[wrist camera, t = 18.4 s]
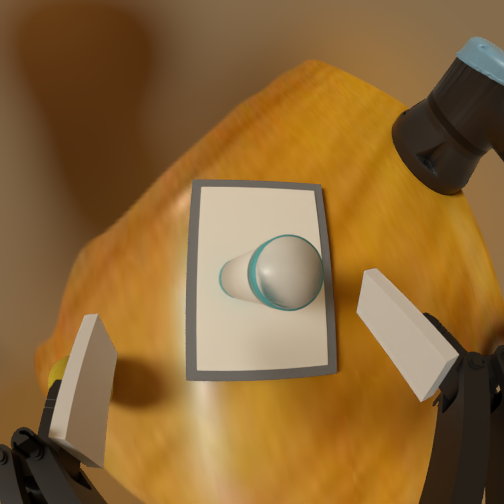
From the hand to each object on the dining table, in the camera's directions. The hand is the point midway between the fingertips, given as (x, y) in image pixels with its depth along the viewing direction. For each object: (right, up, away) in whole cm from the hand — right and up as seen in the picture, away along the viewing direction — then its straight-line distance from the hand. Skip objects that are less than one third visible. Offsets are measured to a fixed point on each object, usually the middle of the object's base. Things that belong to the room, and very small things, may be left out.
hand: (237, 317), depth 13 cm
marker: (-1, +1, +12) cm, 12 cm away
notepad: (+2, +1, +14) cm, 14 cm away
